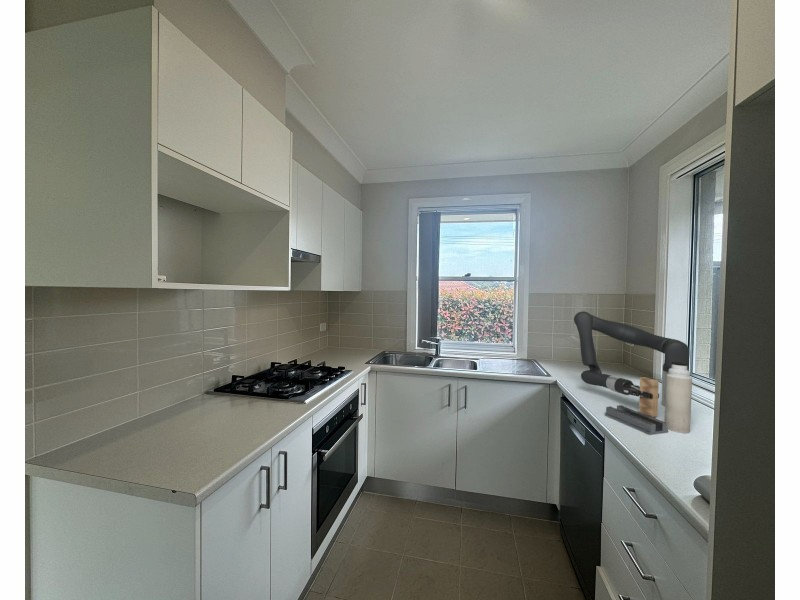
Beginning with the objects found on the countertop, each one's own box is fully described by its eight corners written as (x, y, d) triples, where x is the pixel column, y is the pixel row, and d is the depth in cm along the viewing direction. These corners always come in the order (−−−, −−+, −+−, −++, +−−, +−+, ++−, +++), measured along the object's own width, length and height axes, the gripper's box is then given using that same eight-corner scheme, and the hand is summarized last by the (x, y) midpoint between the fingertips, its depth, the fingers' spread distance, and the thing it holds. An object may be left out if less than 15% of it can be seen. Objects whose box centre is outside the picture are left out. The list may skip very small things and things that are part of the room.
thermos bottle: (687, 427, 132) (689, 361, 131) (692, 435, 125) (695, 365, 124) (662, 423, 136) (665, 359, 135) (666, 430, 129) (668, 362, 128)
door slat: (639, 411, 146) (640, 377, 145) (644, 411, 146) (645, 377, 146) (652, 416, 140) (653, 381, 139) (657, 415, 141) (658, 380, 140)
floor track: (604, 415, 144) (604, 406, 144) (621, 413, 146) (621, 405, 146) (649, 435, 124) (649, 425, 124) (668, 432, 127) (668, 422, 127)
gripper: (608, 378, 155) (643, 389, 138) (630, 376, 158) (667, 386, 142) (608, 393, 155) (643, 406, 138) (630, 391, 159) (667, 403, 142)
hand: (655, 396), depth 140 cm, fingers closed on door slat, 3 cm apart
